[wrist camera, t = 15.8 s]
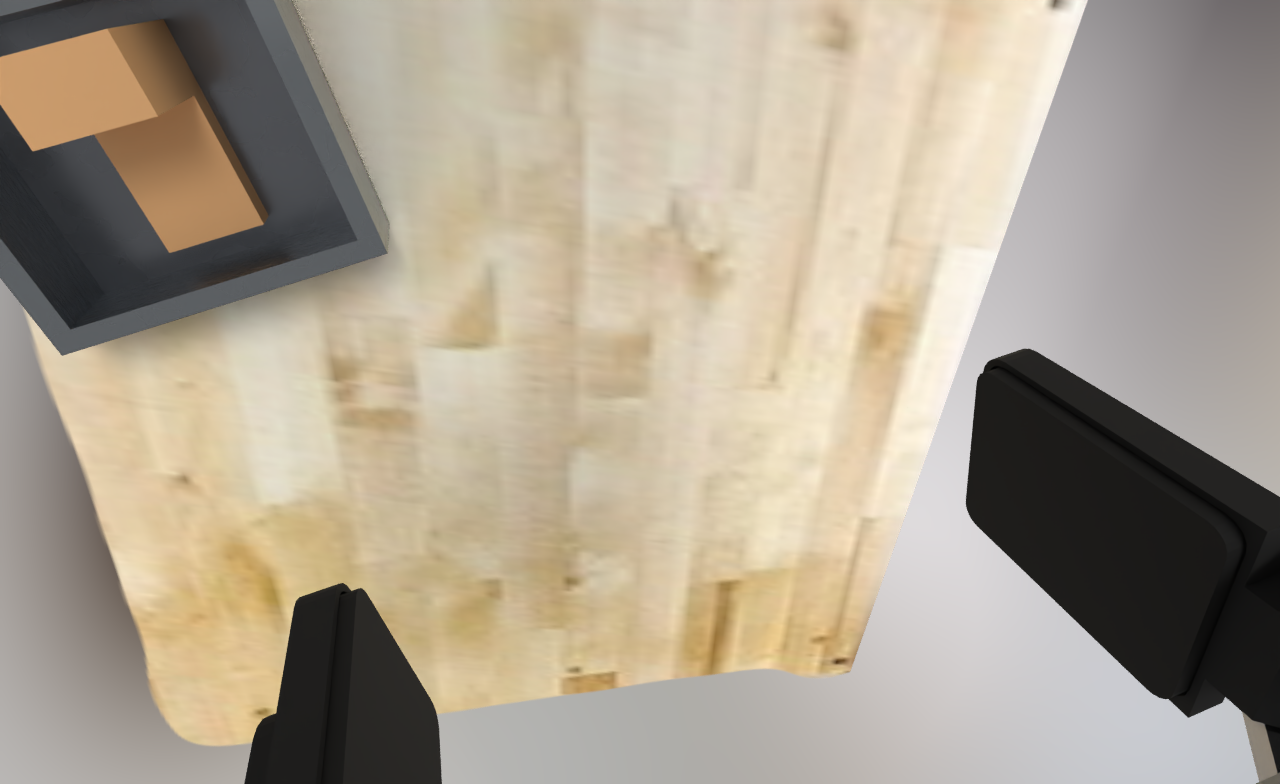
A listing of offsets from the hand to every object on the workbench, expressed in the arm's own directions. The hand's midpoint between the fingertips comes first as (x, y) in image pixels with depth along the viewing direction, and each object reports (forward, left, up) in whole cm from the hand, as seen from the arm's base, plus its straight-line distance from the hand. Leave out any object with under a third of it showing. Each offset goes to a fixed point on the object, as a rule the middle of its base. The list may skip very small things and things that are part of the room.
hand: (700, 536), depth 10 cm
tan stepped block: (-4, -14, -32) cm, 35 cm away
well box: (-4, -14, -32) cm, 35 cm away
